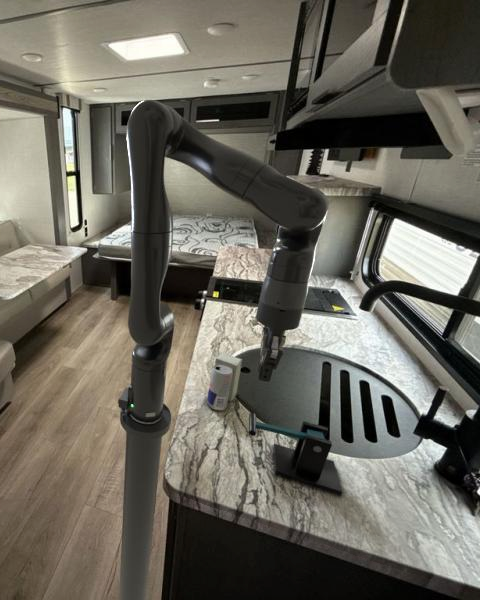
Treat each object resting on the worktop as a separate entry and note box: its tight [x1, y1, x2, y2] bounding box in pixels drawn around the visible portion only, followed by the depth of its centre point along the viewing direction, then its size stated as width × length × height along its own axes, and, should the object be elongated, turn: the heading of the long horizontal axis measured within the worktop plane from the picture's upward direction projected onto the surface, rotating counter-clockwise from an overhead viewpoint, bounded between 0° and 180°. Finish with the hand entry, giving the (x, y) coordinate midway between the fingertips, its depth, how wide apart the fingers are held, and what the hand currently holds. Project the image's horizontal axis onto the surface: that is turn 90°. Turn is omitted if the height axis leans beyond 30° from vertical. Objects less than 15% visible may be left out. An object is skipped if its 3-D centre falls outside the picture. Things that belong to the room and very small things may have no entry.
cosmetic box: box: [214, 352, 243, 402], centre depth 89 cm, size 6×4×12 cm
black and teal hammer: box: [248, 412, 324, 440], centre depth 67 cm, size 14×6×2 cm, turn 67°
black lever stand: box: [272, 420, 343, 497], centre depth 66 cm, size 12×8×11 cm, turn 67°
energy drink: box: [206, 363, 233, 411], centre depth 85 cm, size 5×5×12 cm
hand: (263, 376), depth 64 cm, fingers closed
